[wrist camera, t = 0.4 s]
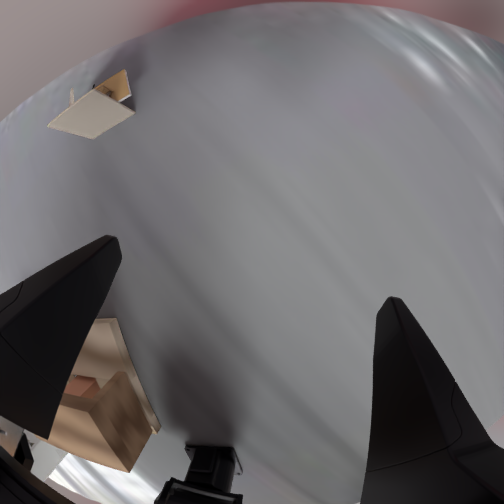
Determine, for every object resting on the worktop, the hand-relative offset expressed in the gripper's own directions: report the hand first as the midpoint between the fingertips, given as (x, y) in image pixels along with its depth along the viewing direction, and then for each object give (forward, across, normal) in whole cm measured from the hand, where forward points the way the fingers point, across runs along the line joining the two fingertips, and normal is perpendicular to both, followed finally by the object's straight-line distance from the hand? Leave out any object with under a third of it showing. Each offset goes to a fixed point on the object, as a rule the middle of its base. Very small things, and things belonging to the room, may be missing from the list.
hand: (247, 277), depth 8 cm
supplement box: (-11, +33, +47) cm, 58 cm away
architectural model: (+17, +17, 0) cm, 24 cm away
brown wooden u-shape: (-1, +18, +27) cm, 32 cm away
